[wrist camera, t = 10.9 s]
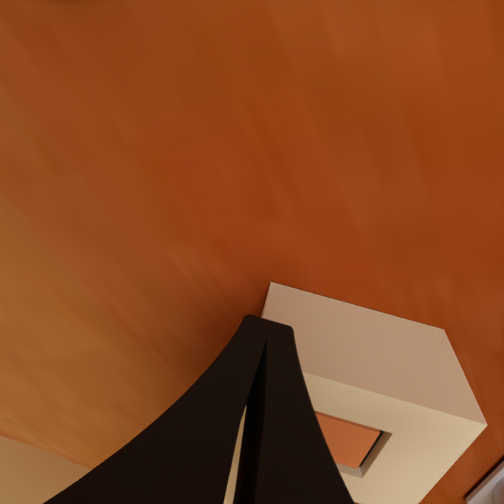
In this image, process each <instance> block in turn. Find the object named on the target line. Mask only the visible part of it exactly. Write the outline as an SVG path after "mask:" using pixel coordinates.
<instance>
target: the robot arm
mask: <svg viewBox="0 0 504 504" xmlns="http://www.w3.org/2000/svg"><path fill="white" fill-rule="evenodd" d="M246 404H247V405H246ZM245 407H246V412H245V419H244V427H243V434H242V442H241V449H240V456H239V464H238V471H237V479H236V486H235V492H234V498H233V504H355V503H354V501H353V499H352V497H351V495H350V493H349V491H348V489H347V487H346V485H345V482H344V480H343V478H342V476H341V474H340V472H339V470H338V468H337V465H336V463H335V461H334V459H333V456H332V454H331V452H330V450H329V447H328V445H327V442H326V440H325V437H324V435H323V432H322V430H321V427H320V425H319V422H318V419H317V416H316V414H315V411H314V408H313V405H312V402H311V399H310V396H309V393H308V390H307V386H306V383H305V380H304V376H303V373H302V369H301V365H300V361H299V357H298V353H297V348H296V343H295V337H294V330H293V328H292V327H291V326H289V325H285V324H282V323H278V322H275V321H271V320H268V319H264V318H261V317H257V316H254V315H250V314H248V315H246V316H244V318H243V321H242V323H241V324H240V326H239V328H238V330H237V331H236V333H235V334H234V336H233V337H232V339H231V340H230V341H229V343H228V344H227V346H226V347H225V348H224V349H223V351H222V352H221V353H220V354H219V356H218V357H217V358H216V359H215V361H214V362H213V363H212V364H211V365H210V367H209V368H208V369H207V370H206V371H205V372H204V373H203V374H202V375H201V376H200V377H199V379H198V380H197V381H196V382H195V383H194V384H193V385H192V386H191V387H190V388H189V389H188V390H187V391H186V392H185V393H184V394H183V395H182V396H181V397H180V398H179V399H178V400H177V401H176V402H175V403H174V404H173V405H172V406H171V407H170V408H169V409H167V410H166V411H165V412H164V413H163V414H162V415H161V416H160V417H159V418H157V419H156V420H155V421H154V422H153V423H152V424H150V425H149V426H148V427H147V428H146V429H144V430H143V431H142V432H141V433H140V434H139V435H137V436H136V437H135V438H134V439H132V440H131V441H130V442H129V443H127V444H126V445H125V446H124V447H122V448H121V449H120V450H118V451H117V452H116V453H114V454H113V455H112V456H110V457H109V458H108V459H106V460H105V461H104V462H102V463H101V464H99V465H98V466H97V467H95V468H94V469H93V470H91V471H90V472H89V473H87V474H86V475H85V476H83V477H82V478H80V479H79V480H78V481H77V482H75V483H73V484H72V485H71V486H69V487H68V488H66V489H65V490H63V491H61V492H60V493H58V494H57V495H55V496H54V497H53V498H51V499H49V500H48V501H46V502H45V503H43V504H224V499H225V494H226V489H227V484H228V480H229V475H230V470H231V465H232V460H233V455H234V451H235V446H236V441H237V436H238V432H239V427H240V423H241V420H242V417H243V414H244V410H245ZM465 501H466V504H504V461H503V462H502V463H501V464H500V465H499V466H498V467H497V468H496V469H495V470H494V471H493V472H492V473H491V474H490V475H489V476H488V477H487V478H486V479H485V480H484V481H483V482H482V483H481V484H480V485H479V486H478V487H477V488H476V489H475V490H474V491H473V492H472V493H471V494H470V495H469V496H468V497H467V498H466V499H465Z"/></svg>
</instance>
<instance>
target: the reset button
mask: <svg viewBox="0 0 504 504" xmlns="http://www.w3.org/2000/svg"><path fill="white" fill-rule="evenodd" d="M315 414H316V416H317V419H318V422H319V425H320V427H321V430H322V432H323V435H324V437H325V440H326V442H327V445H328V447H329V450H330V452H331V454H332V456H333V459H334V461H335V462H336V463H339V464H342V465H346V466H349V467H352V468H356V469H357V468H358V467H359V465H360V463H361V462H362V460H363V459H364V457H365V456H366V454H367V453H368V451H369V450H370V448H371V446H372V445H373V443H374V442H375V440H376V439H377V437H378V436H379V434H380V430H379V429H376V428H372V427H369V426H365V425H362V424H359V423H355V422H352V421H348V420H345V419H341V418H338V417H335V416H331V415H328V414H324V413H321V412H318V411H315Z"/></svg>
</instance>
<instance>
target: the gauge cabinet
mask: <svg viewBox="0 0 504 504" xmlns="http://www.w3.org/2000/svg"><path fill="white" fill-rule="evenodd" d="M261 318H264V319H268V320H271V321H275V322H278V323H282V324H285V325H289V326H291V327H292V328H293V330H294V337H295V343H296V348H297V353H298V357H299V361H300V365H301V369H302V373H303V376H304V380H305V383H306V386H307V390H308V393H309V396H310V399H311V402H312V405H313V408H314V411H318V412H321V413H324V414H328V415H331V416H335V417H338V418H341V419H345V420H348V421H352V422H355V423H359V424H362V425H365V426H369V427H372V428H376V429H379V430H380V434H379V436H378V437H377V439H376V440H375V442H374V443H373V445H372V446H371V448H370V450H369V451H368V453H367V454H366V456H365V457H364V459H363V460H362V462H361V463H360V465H359V467H358V468H357V469H356V468H352V467H349V466H346V465H342V464H339V463H336V462H335V463H336V465H337V468H338V470H339V472H340V474H341V476H342V478H343V480H344V482H345V485H346V487H347V489H348V491H349V493H350V495H351V497H352V499H353V501H354V502H357V503H360V504H418V503H419V502H420V501H421V500H422V499H423V498H424V497H425V495H426V494H427V493H428V492H429V491H430V490H431V489H432V487H433V486H434V485H435V484H436V483H437V482H438V481H439V480H440V478H441V477H442V476H443V475H444V474H445V473H446V472H447V470H448V469H449V468H450V467H451V466H452V465H453V464H454V463H455V461H456V460H457V459H458V458H459V457H460V456H461V455H462V453H463V452H464V451H465V450H466V449H467V448H468V447H469V446H470V444H471V443H472V442H473V441H474V440H475V439H476V438H477V436H478V435H479V434H480V433H481V432H482V431H483V430H484V429H485V427H486V426H487V423H486V421H485V418H484V416H483V414H482V412H481V410H480V408H479V405H478V403H477V401H476V399H475V397H474V395H473V392H472V390H471V388H470V386H469V384H468V381H467V379H466V377H465V375H464V373H463V371H462V368H461V366H460V364H459V362H458V360H457V357H456V355H455V353H454V351H453V349H452V347H451V344H450V342H449V340H448V338H447V336H446V333H445V331H444V329H440V328H436V327H433V326H429V325H425V324H422V323H418V322H415V321H411V320H407V319H404V318H400V317H396V316H393V315H389V314H386V313H382V312H378V311H375V310H371V309H368V308H364V307H360V306H357V305H353V304H349V303H346V302H342V301H339V300H335V299H331V298H328V297H324V296H320V295H317V294H313V293H310V292H306V291H302V290H299V289H295V288H291V287H288V286H284V285H281V284H277V283H273V282H271V283H270V287H269V290H268V294H267V297H266V301H265V304H264V308H263V311H262V315H261ZM246 405H247V404H246ZM245 412H246V407H245V410H244V414H243V417H242V420H241V423H240V427H239V432H238V436H237V441H236V446H235V451H234V455H233V460H232V465H235V466H238V464H239V456H240V449H241V442H242V434H243V427H244V419H245Z"/></svg>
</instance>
